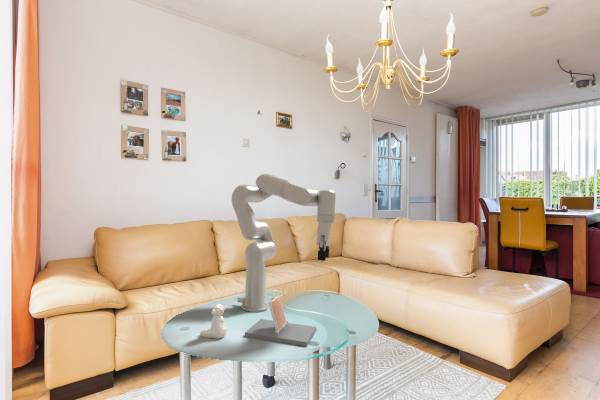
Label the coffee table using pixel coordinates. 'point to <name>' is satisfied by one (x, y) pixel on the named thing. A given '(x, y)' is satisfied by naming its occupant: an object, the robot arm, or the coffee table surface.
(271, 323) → the board
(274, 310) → the tile
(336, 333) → the coffee table surface
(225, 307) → the sitting furry creature
